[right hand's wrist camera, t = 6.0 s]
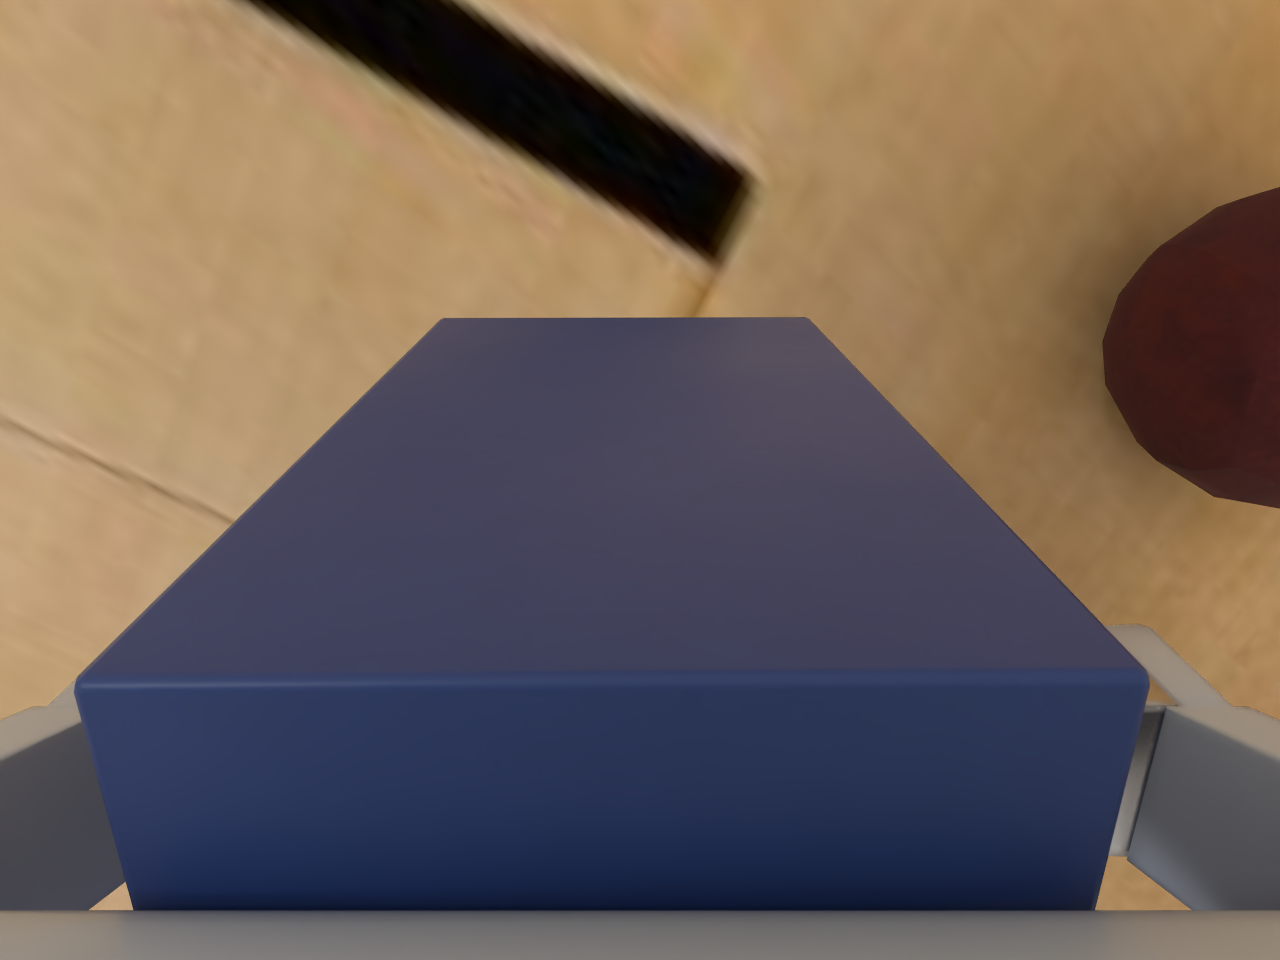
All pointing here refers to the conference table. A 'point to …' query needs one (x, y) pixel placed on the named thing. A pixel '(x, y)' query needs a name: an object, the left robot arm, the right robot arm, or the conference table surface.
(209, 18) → the conference table surface
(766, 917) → the right robot arm
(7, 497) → the conference table surface
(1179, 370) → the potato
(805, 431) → the box
